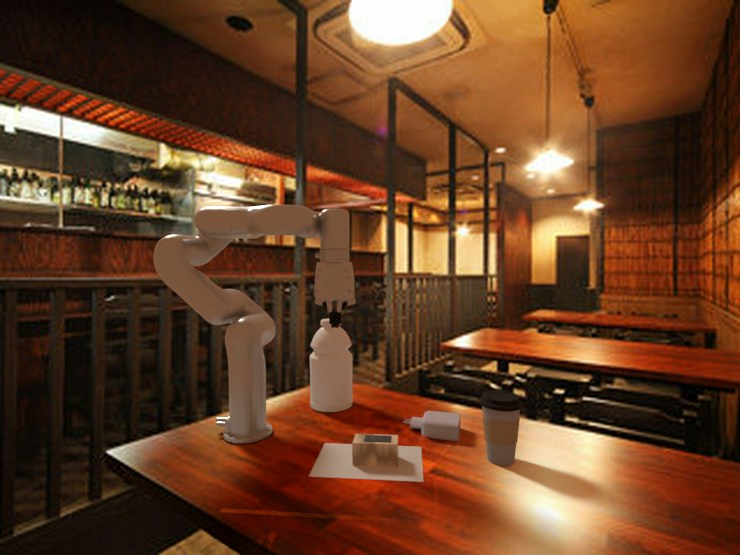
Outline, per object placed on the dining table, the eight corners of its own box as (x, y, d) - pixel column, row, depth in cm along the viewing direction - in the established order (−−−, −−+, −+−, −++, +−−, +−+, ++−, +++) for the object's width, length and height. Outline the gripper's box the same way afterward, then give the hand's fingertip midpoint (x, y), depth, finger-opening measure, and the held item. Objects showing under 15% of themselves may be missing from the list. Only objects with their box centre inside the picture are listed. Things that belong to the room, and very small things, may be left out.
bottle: (320, 396, 137) (319, 316, 136) (358, 400, 133) (357, 317, 133) (302, 411, 123) (301, 321, 123) (344, 415, 120) (344, 322, 119)
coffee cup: (523, 455, 93) (523, 392, 93) (520, 474, 85) (520, 404, 84) (482, 447, 97) (482, 387, 97) (475, 465, 89) (475, 398, 88)
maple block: (352, 442, 88) (397, 443, 87) (355, 432, 93) (398, 434, 92) (352, 465, 88) (397, 467, 87) (355, 454, 93) (398, 456, 92)
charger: (407, 423, 113) (460, 429, 109) (400, 436, 104) (458, 443, 100) (407, 407, 113) (460, 412, 109) (400, 418, 104) (458, 424, 100)
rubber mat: (308, 479, 83) (308, 476, 83) (324, 445, 99) (324, 443, 99) (423, 484, 81) (423, 481, 81) (421, 449, 97) (421, 446, 97)
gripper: (303, 256, 100) (303, 329, 100) (361, 256, 98) (362, 329, 99) (310, 257, 107) (311, 324, 108) (365, 257, 106) (365, 325, 106)
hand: (335, 326), depth 103 cm, fingers closed
